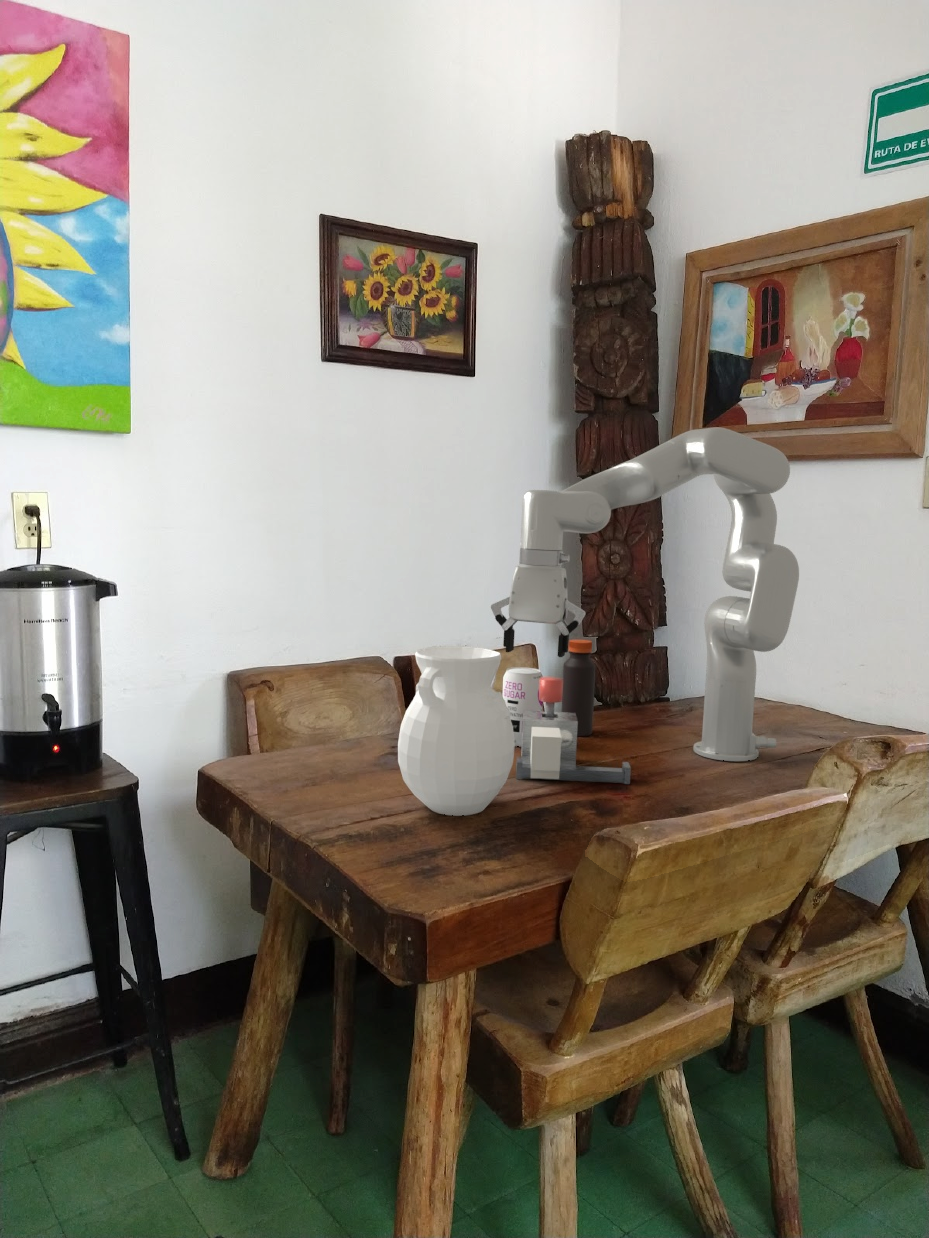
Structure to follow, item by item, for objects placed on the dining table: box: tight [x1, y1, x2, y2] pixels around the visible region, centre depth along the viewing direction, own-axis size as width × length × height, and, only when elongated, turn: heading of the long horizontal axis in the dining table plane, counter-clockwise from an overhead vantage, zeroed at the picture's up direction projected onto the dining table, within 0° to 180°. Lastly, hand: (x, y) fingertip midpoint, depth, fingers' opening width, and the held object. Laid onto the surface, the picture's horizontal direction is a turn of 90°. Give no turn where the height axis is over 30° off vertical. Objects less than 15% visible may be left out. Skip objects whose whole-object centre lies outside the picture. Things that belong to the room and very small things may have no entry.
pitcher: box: [397, 645, 516, 817], centre depth 146 cm, size 19×18×25 cm
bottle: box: [560, 639, 596, 737], centre depth 197 cm, size 7×7×20 cm
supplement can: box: [502, 666, 544, 748], centre depth 188 cm, size 8×8×15 cm
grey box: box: [520, 710, 578, 766], centre depth 174 cm, size 10×7×9 cm
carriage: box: [530, 727, 561, 780], centre depth 164 cm, size 5×7×8 cm
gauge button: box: [539, 676, 563, 718], centre depth 173 cm, size 4×4×8 cm
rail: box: [515, 756, 632, 785], centre depth 164 cm, size 20×4×3 cm, turn 87°
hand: (535, 653), depth 167 cm, fingers open, 9 cm apart
